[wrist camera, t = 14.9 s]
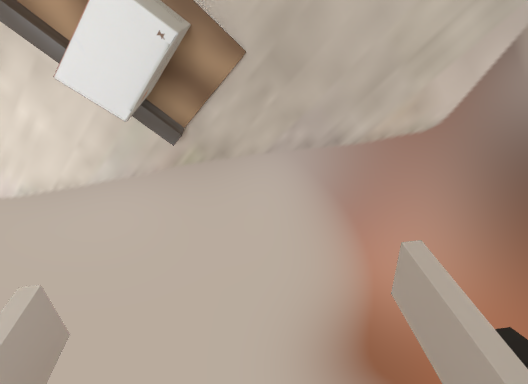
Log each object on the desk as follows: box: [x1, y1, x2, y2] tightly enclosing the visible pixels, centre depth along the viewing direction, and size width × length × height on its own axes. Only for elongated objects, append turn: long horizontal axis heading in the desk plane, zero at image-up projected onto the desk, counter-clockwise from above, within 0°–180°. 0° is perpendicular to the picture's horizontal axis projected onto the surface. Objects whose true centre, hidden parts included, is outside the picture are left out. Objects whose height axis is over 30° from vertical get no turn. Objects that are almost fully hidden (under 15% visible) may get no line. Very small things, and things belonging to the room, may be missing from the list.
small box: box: [53, 0, 191, 122], centre depth 27 cm, size 8×6×10 cm
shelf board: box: [0, 0, 246, 146], centre depth 29 cm, size 12×22×4 cm, turn 47°
